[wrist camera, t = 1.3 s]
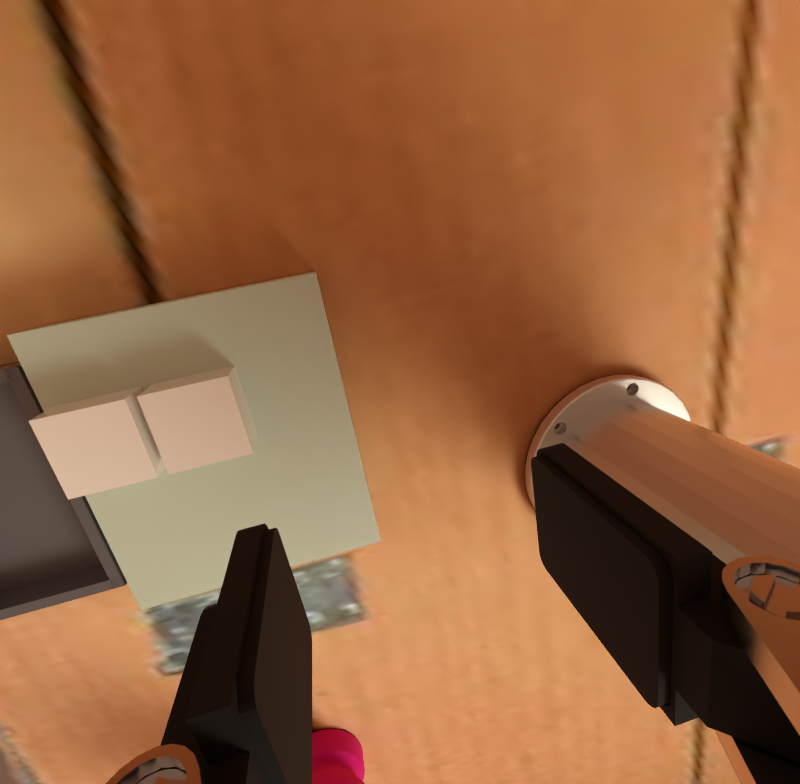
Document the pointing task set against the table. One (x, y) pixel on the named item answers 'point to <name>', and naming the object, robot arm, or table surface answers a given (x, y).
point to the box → (42, 517)
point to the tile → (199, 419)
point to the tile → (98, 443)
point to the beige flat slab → (231, 479)
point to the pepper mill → (336, 758)
